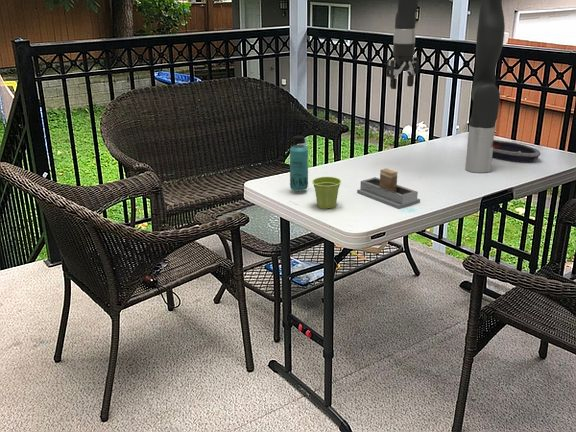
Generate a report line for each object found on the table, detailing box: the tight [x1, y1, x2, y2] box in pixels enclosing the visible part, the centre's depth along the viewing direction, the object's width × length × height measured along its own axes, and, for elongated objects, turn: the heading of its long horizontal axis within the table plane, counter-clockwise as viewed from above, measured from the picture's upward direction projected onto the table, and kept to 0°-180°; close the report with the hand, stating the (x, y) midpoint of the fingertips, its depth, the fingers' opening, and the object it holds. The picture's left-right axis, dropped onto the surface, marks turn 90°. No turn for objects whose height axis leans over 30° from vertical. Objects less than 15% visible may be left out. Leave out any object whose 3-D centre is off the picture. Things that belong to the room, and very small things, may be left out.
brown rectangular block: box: [379, 168, 398, 192], centre depth 201 cm, size 3×5×8 cm, turn 36°
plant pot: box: [311, 176, 342, 210], centre depth 195 cm, size 9×9×9 cm
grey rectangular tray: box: [356, 176, 421, 210], centre depth 202 cm, size 10×20×4 cm, turn 36°
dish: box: [492, 139, 542, 163], centre depth 247 cm, size 16×31×5 cm, turn 39°
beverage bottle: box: [289, 135, 309, 191], centre depth 207 cm, size 6×7×20 cm
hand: (401, 87), depth 218 cm, fingers open, 8 cm apart
